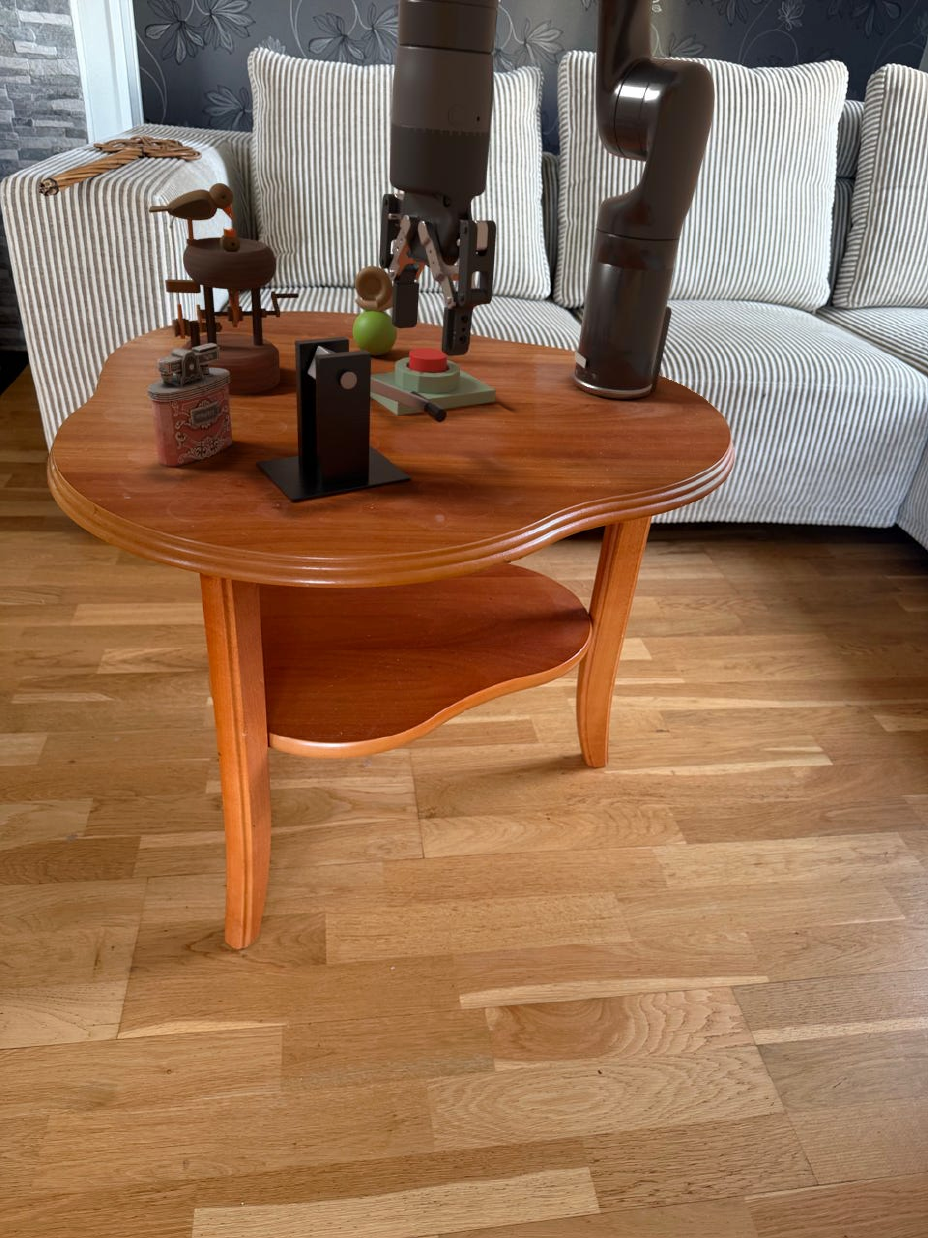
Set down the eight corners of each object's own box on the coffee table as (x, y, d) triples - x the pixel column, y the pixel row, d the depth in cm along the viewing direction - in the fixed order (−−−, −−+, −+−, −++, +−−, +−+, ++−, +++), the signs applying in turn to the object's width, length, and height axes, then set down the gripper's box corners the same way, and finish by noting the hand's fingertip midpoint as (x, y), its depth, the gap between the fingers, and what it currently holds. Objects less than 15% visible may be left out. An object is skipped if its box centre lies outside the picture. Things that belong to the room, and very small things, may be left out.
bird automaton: (185, 402, 89) (157, 184, 79) (158, 378, 97) (130, 178, 88) (323, 387, 96) (314, 185, 87) (287, 365, 104) (275, 179, 95)
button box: (451, 383, 101) (453, 349, 99) (494, 409, 95) (497, 373, 93) (357, 395, 95) (358, 358, 93) (397, 423, 89) (398, 385, 87)
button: (434, 362, 95) (435, 346, 94) (453, 373, 93) (454, 357, 92) (402, 365, 93) (402, 349, 92) (420, 377, 91) (421, 360, 90)
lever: (412, 411, 80) (423, 386, 79) (440, 430, 76) (452, 405, 75) (300, 368, 72) (311, 340, 71) (325, 387, 68) (337, 358, 68)
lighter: (176, 481, 74) (163, 364, 68) (148, 470, 75) (133, 354, 70) (244, 454, 80) (236, 343, 74) (217, 444, 81) (208, 335, 75)
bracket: (369, 456, 81) (371, 328, 75) (410, 490, 76) (417, 355, 69) (256, 474, 76) (248, 338, 70) (292, 512, 71) (287, 368, 64)
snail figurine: (402, 363, 106) (406, 259, 99) (349, 359, 106) (350, 254, 99) (405, 350, 110) (409, 249, 104) (355, 346, 110) (356, 245, 104)
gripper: (537, 134, 62) (511, 360, 71) (436, 114, 72) (424, 315, 81) (447, 129, 58) (432, 369, 67) (354, 109, 68) (351, 320, 77)
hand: (428, 339), depth 74 cm, fingers open, 8 cm apart
